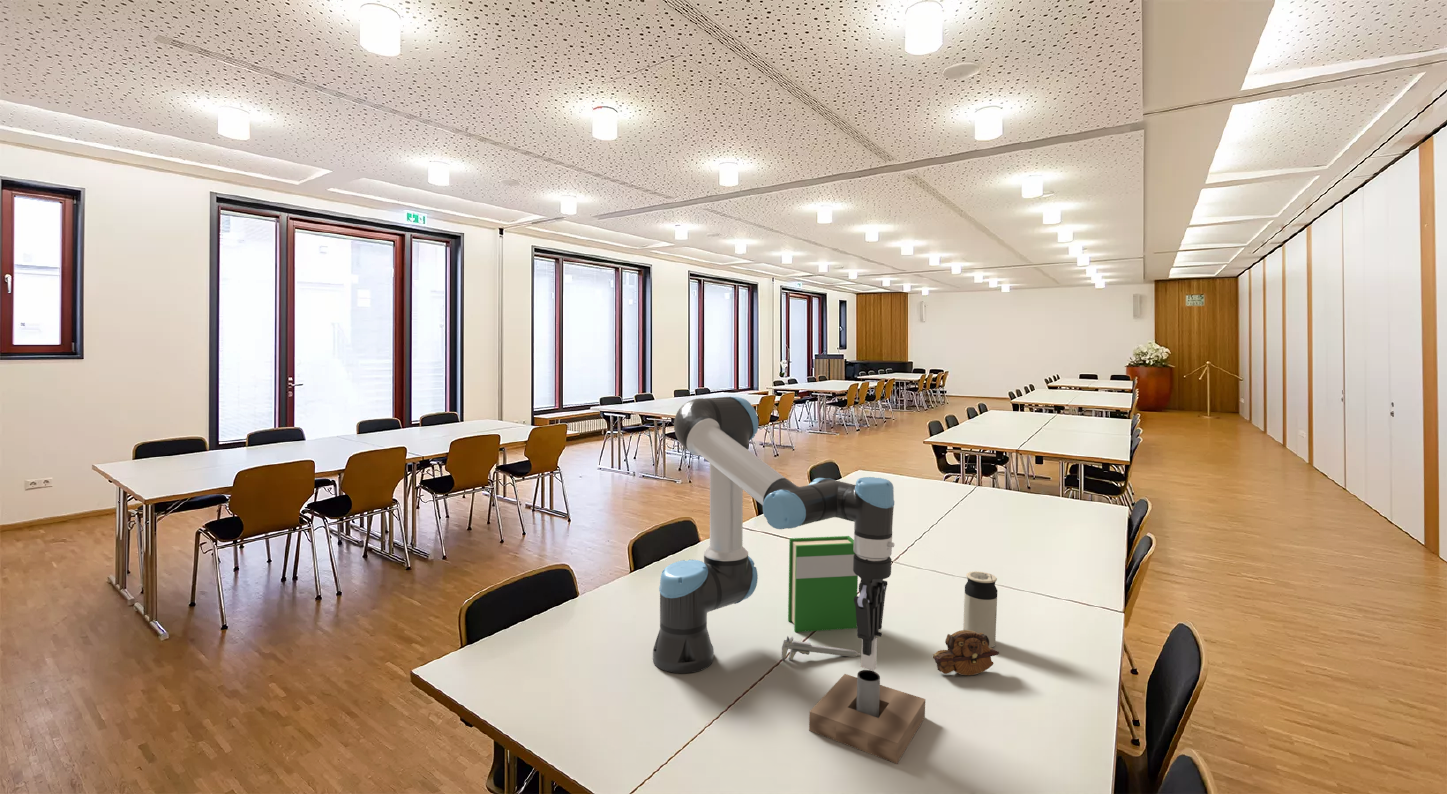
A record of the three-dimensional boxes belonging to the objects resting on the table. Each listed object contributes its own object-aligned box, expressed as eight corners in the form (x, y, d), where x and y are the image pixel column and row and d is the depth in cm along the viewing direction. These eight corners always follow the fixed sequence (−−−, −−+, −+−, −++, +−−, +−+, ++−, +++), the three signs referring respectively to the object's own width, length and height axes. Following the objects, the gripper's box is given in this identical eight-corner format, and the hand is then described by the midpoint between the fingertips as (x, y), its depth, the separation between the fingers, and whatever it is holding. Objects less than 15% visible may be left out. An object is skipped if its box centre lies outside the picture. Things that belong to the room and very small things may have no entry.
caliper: (782, 662, 153) (783, 637, 153) (781, 660, 154) (781, 635, 154) (861, 657, 156) (861, 632, 156) (859, 654, 157) (860, 631, 157)
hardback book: (795, 632, 169) (796, 546, 168) (788, 620, 177) (789, 538, 175) (856, 628, 172) (858, 543, 171) (846, 617, 179) (848, 535, 178)
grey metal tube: (875, 716, 130) (876, 669, 129) (881, 729, 125) (882, 680, 125) (853, 717, 130) (855, 669, 129) (859, 730, 125) (860, 681, 124)
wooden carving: (942, 683, 144) (943, 641, 143) (930, 673, 148) (931, 632, 147) (1001, 674, 148) (1003, 633, 147) (989, 664, 152) (990, 625, 152)
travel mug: (961, 645, 163) (963, 578, 161) (964, 633, 170) (967, 568, 168) (993, 652, 159) (996, 583, 158) (996, 639, 166) (999, 574, 165)
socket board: (809, 730, 125) (809, 711, 125) (844, 690, 140) (844, 673, 140) (896, 763, 115) (897, 743, 115) (924, 717, 130) (925, 699, 130)
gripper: (879, 568, 117) (874, 687, 119) (901, 550, 128) (896, 659, 130) (842, 560, 122) (838, 675, 123) (866, 543, 132) (862, 649, 134)
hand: (868, 667), depth 127 cm, fingers closed
